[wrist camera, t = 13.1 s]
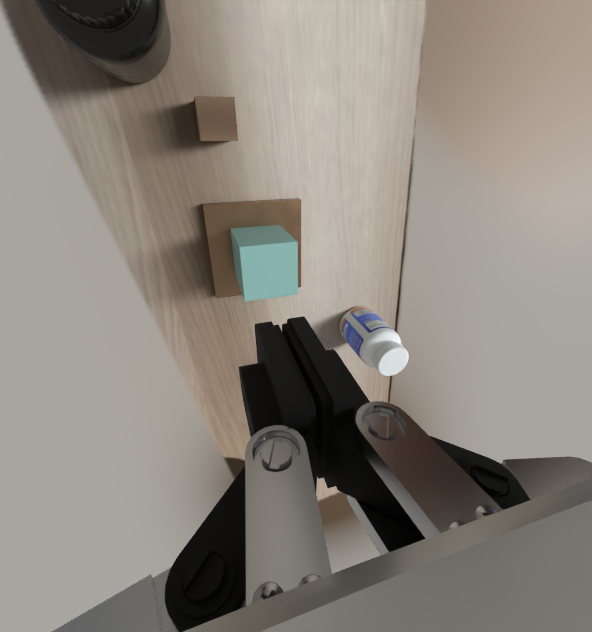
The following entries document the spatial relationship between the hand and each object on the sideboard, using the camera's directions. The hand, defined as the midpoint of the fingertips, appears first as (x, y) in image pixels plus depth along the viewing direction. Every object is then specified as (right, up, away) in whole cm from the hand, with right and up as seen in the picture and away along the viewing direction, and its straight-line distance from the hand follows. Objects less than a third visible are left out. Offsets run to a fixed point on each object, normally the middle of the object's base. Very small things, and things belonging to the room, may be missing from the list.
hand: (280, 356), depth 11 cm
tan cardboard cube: (-7, +19, +18) cm, 27 cm away
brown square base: (-4, +9, +24) cm, 26 cm away
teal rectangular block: (-4, +8, +24) cm, 25 cm away
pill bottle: (+9, +1, +34) cm, 35 cm away
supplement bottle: (-13, +23, +14) cm, 30 cm away
